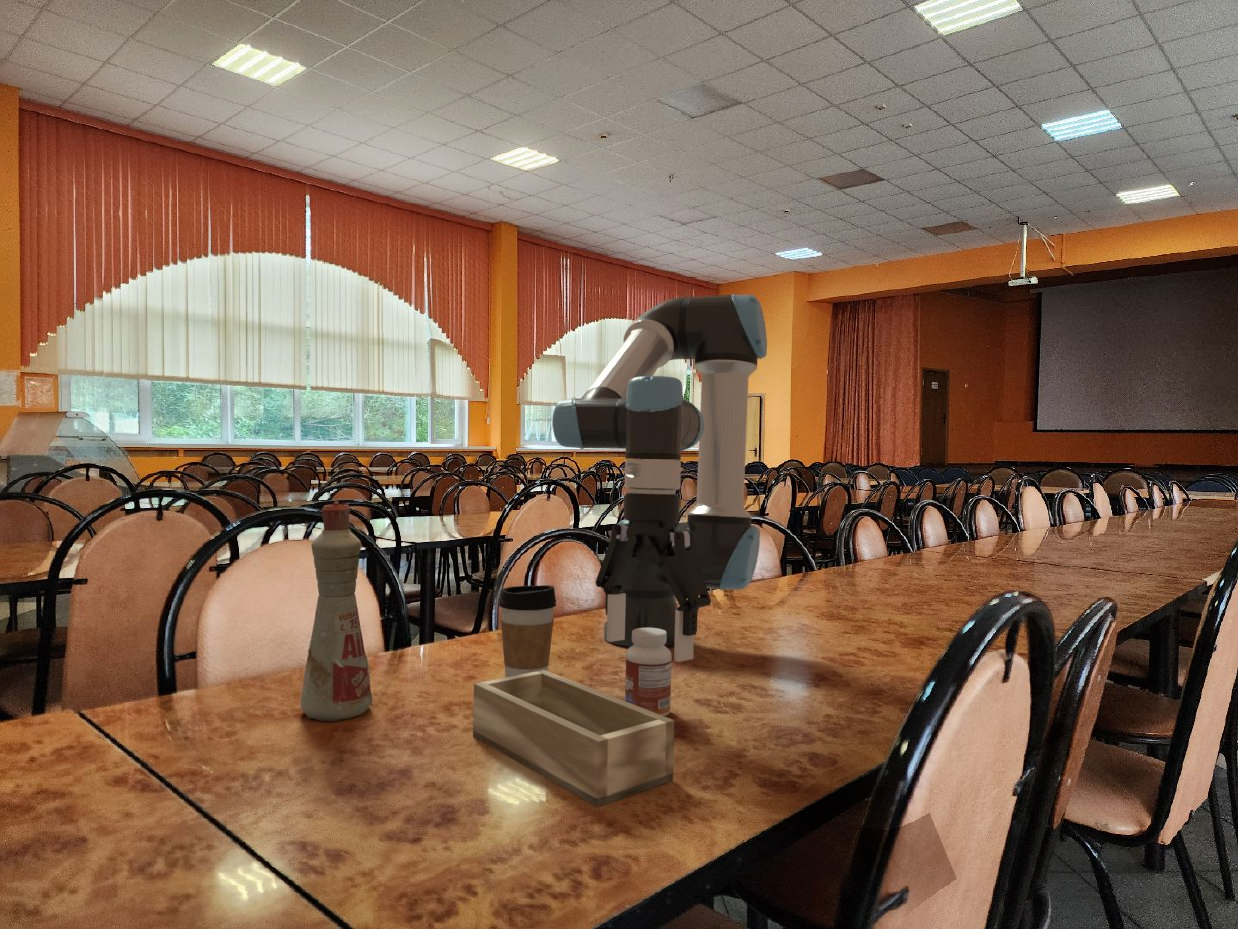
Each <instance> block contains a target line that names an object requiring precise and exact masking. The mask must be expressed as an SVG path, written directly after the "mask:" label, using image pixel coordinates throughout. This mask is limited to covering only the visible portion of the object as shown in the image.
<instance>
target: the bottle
mask: <svg viewBox="0 0 1238 929" xmlns="http://www.w3.org/2000/svg"><path fill="white" fill-rule="evenodd" d="M350 510H351V507H350V506H349V504H339V501H334V502H333V504H325V505H323V508H321V512H322V513H321V514H322V522H323V530H321V533H320V534H318V535H317V536H316V538H315V539H314V540H313V541H312V542H311V550H312V556H313V563H314V568H315V576H316V581H317V590H318V597H317V602H316V609H315V615H314V621H313V626H312V632H311V636H310V637H311V638H310V641H309V648H308V651H307V652H308V653H307V658H306V665H305V669H304V674H303V677H304V678H303V684H302V688H301V689H302V690H301V694H300V695H301V697H300V707H301V708H300V709H301V710H302V711H303V712H304V714H305V715H306V716H307V717H306V718H308V719H309V720H311V719H315V720H317V721H321V722H329V723H331V722H337V721H339V722H340V721H344V720H349V719H351V718H355V717H358V716H361V715H362V714H364V713H365V712H366V711H367V710H368V709H369V707H370V706H371V705H372V702H373V693H372V691H371V676H370V673H371V672H370V671H371V669H370V665H369V662H368V657H367V654H366V650H365V646H364V639H363V632H362V627H361V622H360V615H359V609H358V603H357V596H356V593H355V592H356V588H357V578H358V572H359V563H360V555H361V550H362V548H361V547H362V543H361V539H360V538H358V537H357V535H355V534H354V533H353V532H352V531H351V529H350V528H349V527H350V512H351V511H350Z"/></svg>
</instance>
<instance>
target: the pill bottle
mask: <svg viewBox="0 0 1238 929" xmlns="http://www.w3.org/2000/svg"><path fill="white" fill-rule="evenodd" d="M666 641H667V633H666V631H665V630H662V629H658V628H638V629H634V630H633V631H632V642H633V643H634V645H633V646H631V647H628V649H627V650H626V654H625V678H624V679H625V681H624V682H625V686H624V687H625V689H624V701H626V702H628V703H631V704H633V705H636V706H638V707H641V708H644V709H646V710H649V711H651V712H654V713H656V714H659V715H662V716H664V717H666V716H667V717H668V715H669V714H670V712H671V702H672V701H671V700H672V698H671V696H672V695H671V694H672V691H671V690H672V652H671V650H670V649H669V648H668V647H665V646H664V644H665V643H666Z"/></svg>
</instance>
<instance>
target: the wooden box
mask: <svg viewBox="0 0 1238 929" xmlns="http://www.w3.org/2000/svg"><path fill="white" fill-rule="evenodd" d="M472 715H473V716H472V718H473V720H472V721H473V722H472V723H473V724H472V737H474V738H475V739H476V740H479V741H480V742H482V743H484V744H486V745H487V746H489V747H491V748H493V749H494V750H496V751H498V752H500V753H501V754H503V755H505V756H507V757H508V758H510V759H512V760H513V761H516V762H518V763H519V764H521V765H523V766H524V767H526V768H528V769H530V770H532V771H533V772H535V773H537V774H538V775H540V776H541V777H544V778H546V779H547V780H548V781H550V782H553V783H554V784H556V785H557V786H560V787H561V788H562V789H565V790H567V791H569V792H570V793H572V794H573V795H575V796H577V797H579V798H580V799H583V800H585V801H586V802H587V803H590V804H591V805H593V806H595V807H596V808H599V807H601V806H603V805H607V804H609V803H613V802H615V801H618V800H621V799H624V798H627V797H629V796H633V795H635V794H638V793H641V792H644V791H647V790H650V789H652V788H655V787H659V786H661V785H664V784H667V783H671V782H673V781H674V754H675V753H674V750H675V749H674V748H675V745H674V744H675V742H674V741H675V720H674V719H671V718H668V716H667V717H666V716H665V717H664V716H662V715H659V714H656V713H654V712H651V711H649V710H646V709H644V708H641V707H638V706H636V705H633V704H631V703H628V702H626V701H625V700H623V699H620V698H618V697H615V696H612V695H609V694H607V693H604V692H602V691H599V690H598V689H594V688H592V687H589V686H587V685H583V684H581V683H579V682H577V681H574V680H571V679H569V678H566V677H564V676H562V675H558V674H555V673H554V672H550V671H549V670H548V671H546V670H541V671H536V672H531V673H526V674H521V675H515V676H510V677H505V676H504V677H502V678H500V677H499V678H497V679H491V680H486V681H485V680H484V681H480V682H476V683H473V714H472Z"/></svg>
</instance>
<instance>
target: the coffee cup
mask: <svg viewBox="0 0 1238 929" xmlns="http://www.w3.org/2000/svg"><path fill="white" fill-rule="evenodd" d="M555 591H556V590H555V587H554V585H547V584H546V585H545V584H544V585H542V584H541V585H515V586H508V587H505V588H502V589H501V591H500V597H499V600H498V602H499V603H498V606H499V607H500V608H501V620H500V626H501V638H502V639H501V640H502V651H503V661H504V662H503V664H504V675H505V676H504V678H505V677H510V676H515V675H521V674H526V673H531V672H536V671H541V670H546V671H548V672H549V664H550V663H549V662H550V654H551V647H552V646H551V645H552V636H553V626H554V619H553V614H554V608H555V607H556V606H557V604H556V603H557V599H556V592H555Z"/></svg>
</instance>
